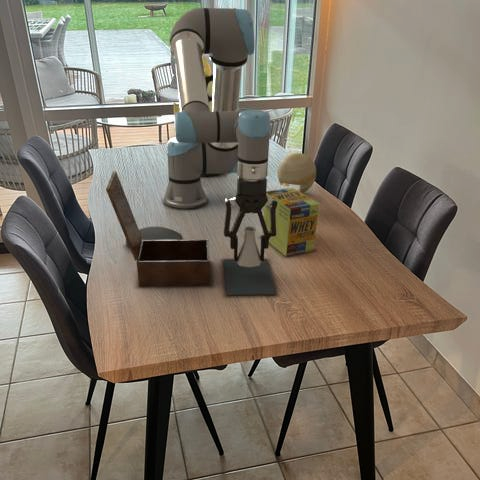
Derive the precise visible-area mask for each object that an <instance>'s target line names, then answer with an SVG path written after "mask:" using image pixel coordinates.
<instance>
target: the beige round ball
mask: <svg viewBox="0 0 480 480" xmlns="http://www.w3.org/2000/svg"><path fill="white" fill-rule="evenodd" d="M316 177H317V167H316V164H315V161H314V160H313V159H312V158H311V157H310V156H308V155H307V154H305V153H301V152H294V153H290V154H288V155H286V156H284V158H283V159H282V160H281V161H280V163H279V165H278V168H277V180H278V182H279V184H280V187H281V186H282V184H283V183H285V184H293V185H301V190H300V192H301V193H304V192H306V191H308V190H309V189H310V188H312V186H313V184H314V183H315V181H316Z"/></svg>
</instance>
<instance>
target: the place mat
mask: <svg viewBox="0 0 480 480" xmlns="http://www.w3.org/2000/svg"><path fill="white" fill-rule="evenodd" d="M223 270H224V271H223V272H224V280H225V290H226V292H225V293H226V297H249V296H250V297H251V296H254V297H255V296H256V297H258V296H260V297H261V296H276V291H275V287H274V282H273V278H272V275H271V269H270V266H269V263H268V258H264V261H261V263H260V266H254V267H244V266H240V265H239V264H238V263H237V262H236V261H234V258H233V259H232V258H231V259H226V258H225V259H223Z"/></svg>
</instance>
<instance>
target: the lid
mask: <svg viewBox="0 0 480 480" xmlns="http://www.w3.org/2000/svg"><path fill="white" fill-rule="evenodd" d="M105 191H106V194H107V196H108V198H109V201H110V203H111V206H112V209H113V211H114V214H115V215H116V218H117V220H118V223H119V226H120V228H121V230H122V232H123V235H124V237H125V241H126V240H127V242H128V245H129V247H130V249H129V250H130V253H131V254H132V257H133V260H134V261H136V262H137V260H138V256H139V251H140V246H141V241H142V236H141V234H140V231H139V230H140V229H139V226H138V223H137V221H136V218H135V217H134V214H133V211H132V208H131V206H130V204H129V201H128V198H127V196H126V193H125V190H124V188H123V185H122V183H121V180H120V177H119V175H118V173H117V170H113V171H112V173H111V176H110V178H109V181H108V183H107V186H106V188H105Z"/></svg>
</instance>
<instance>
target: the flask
mask: <svg viewBox="0 0 480 480" xmlns="http://www.w3.org/2000/svg"><path fill="white" fill-rule="evenodd" d="M243 231H244V239H243V241H242V242H243V243H242V245H241V247H240V249H239V252H238V255H237V261H236V262H237V263H238V264H239V265H240V266H244V267H254V266H260V263H261V257H260V252H259V251H260V250H259V249H258V245H257V242H256V237H255V236H256V231H257V228H256V227H255V226H252V225H251V226H250V225H249V226H245V227H244V228H243Z"/></svg>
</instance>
